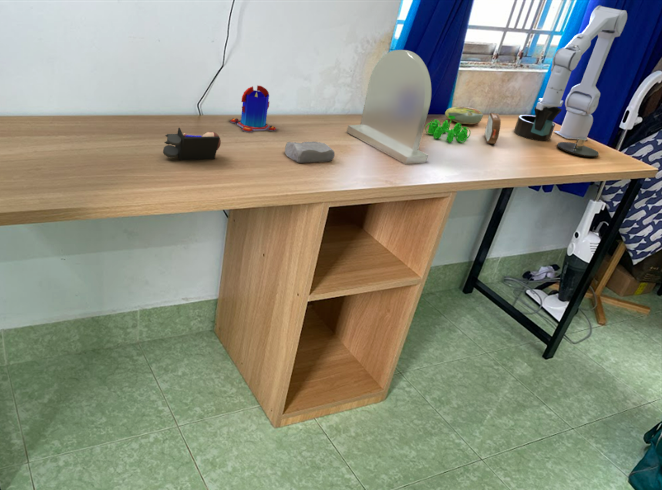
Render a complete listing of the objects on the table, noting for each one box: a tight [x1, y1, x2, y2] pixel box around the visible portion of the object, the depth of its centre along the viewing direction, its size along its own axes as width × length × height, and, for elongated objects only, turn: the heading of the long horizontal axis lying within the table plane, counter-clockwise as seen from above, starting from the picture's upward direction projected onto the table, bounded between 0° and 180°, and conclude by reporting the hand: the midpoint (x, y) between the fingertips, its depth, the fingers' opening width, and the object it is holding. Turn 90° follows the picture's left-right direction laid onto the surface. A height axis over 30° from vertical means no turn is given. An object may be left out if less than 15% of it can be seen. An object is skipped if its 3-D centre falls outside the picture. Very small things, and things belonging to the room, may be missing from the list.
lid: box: [556, 137, 600, 158], centre depth 210 cm, size 14×14×5 cm
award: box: [346, 49, 432, 165], centre depth 180 cm, size 28×9×28 cm, turn 32°
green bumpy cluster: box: [424, 116, 471, 144], centre depth 203 cm, size 15×15×7 cm
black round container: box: [513, 114, 556, 142], centre depth 221 cm, size 13×13×5 cm
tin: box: [484, 112, 502, 145], centre depth 207 cm, size 15×3×8 cm, turn 168°
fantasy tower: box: [229, 84, 278, 133], centre depth 184 cm, size 12×12×12 cm
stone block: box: [284, 141, 335, 164], centre depth 168 cm, size 12×5×10 cm
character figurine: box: [162, 127, 222, 161], centre depth 155 cm, size 8×7×15 cm
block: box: [531, 120, 554, 136], centre depth 208 cm, size 4×4×4 cm
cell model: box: [444, 106, 484, 125], centre depth 223 cm, size 11×8×15 cm
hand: (541, 129), depth 208 cm, fingers closed on block, 4 cm apart
